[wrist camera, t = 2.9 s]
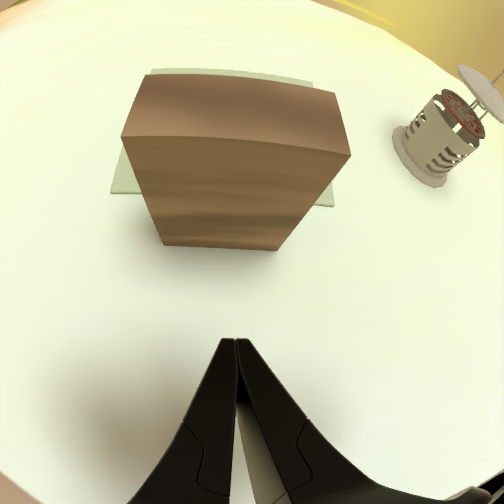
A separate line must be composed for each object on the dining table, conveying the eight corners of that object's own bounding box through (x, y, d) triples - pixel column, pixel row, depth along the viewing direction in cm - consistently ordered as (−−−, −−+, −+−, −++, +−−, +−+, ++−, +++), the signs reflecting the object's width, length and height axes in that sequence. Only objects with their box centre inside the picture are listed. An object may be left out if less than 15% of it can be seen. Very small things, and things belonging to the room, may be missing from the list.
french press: (378, 131, 29) (487, -17, 6) (422, 121, 32) (511, 15, 9) (424, 197, 27) (572, 69, 4) (460, 174, 30) (568, 80, 7)
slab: (276, 251, 22) (351, 155, 10) (164, 245, 21) (120, 136, 9) (275, 206, 24) (334, 92, 11) (169, 200, 22) (145, 74, 10)
